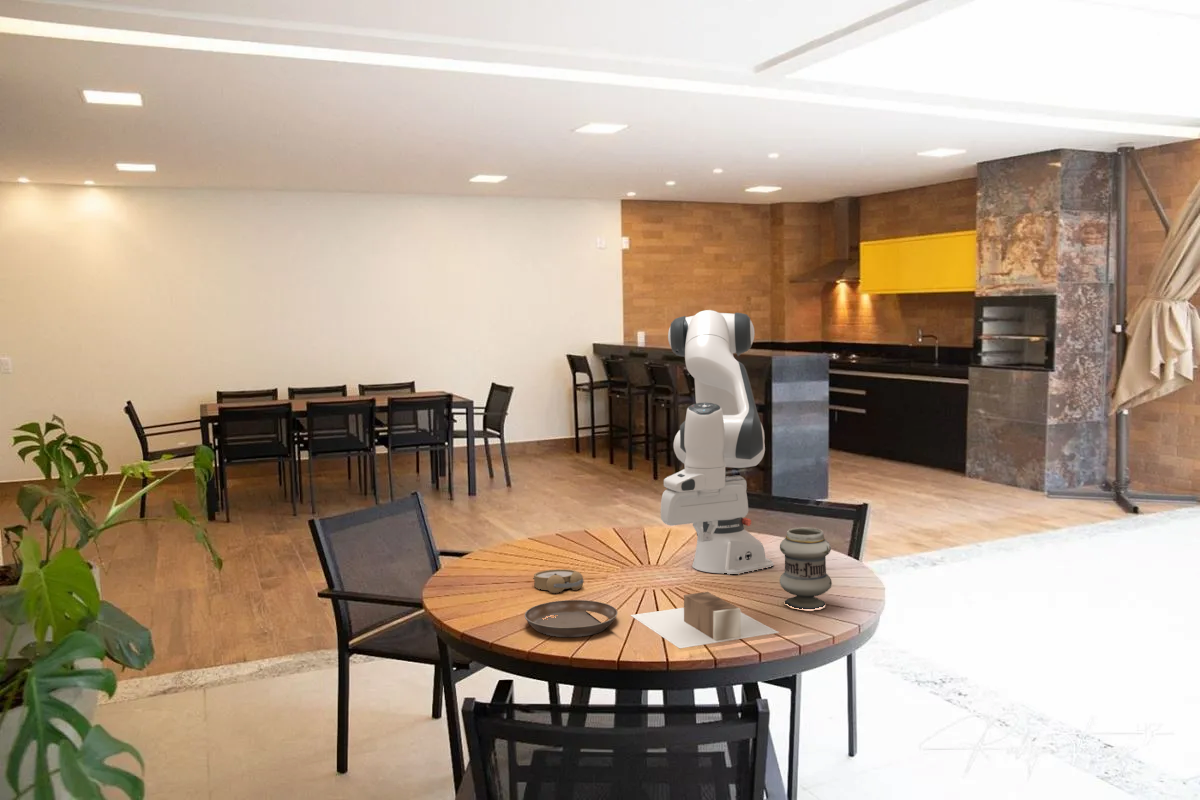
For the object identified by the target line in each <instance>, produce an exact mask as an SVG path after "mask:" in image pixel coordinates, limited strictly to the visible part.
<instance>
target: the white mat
mask: <svg viewBox="0 0 1200 800" xmlns="http://www.w3.org/2000/svg"><path fill="white" fill-rule="evenodd" d="M629 616H630V617H632V618H633V619H635V620H637V621H638V622H640V623H641V624H642V625H644V626H645V627H647V628H648V629H650V630H651V631H652V632H654V633H656V634H657V635H659V636H660V637H662V638H663V639H664V640H666V641H667V642H669V643H670V644H672V645H673V646H675V647H676V648H678V649H680V650H681V649H685V648H691V647H699V646H703V645H709V644H710V645H711V644H716V643H722V642H730V641H735V640H742V639H747V638H754V637H760V636H766V635H773V634H778V633H780V632H779V631H777V630H775V629H773V628H772V627H770V626H768V625H765V624H764V623H762V622H760V621H758V620H756V619H754V618H753V617H751V616H749V615H747V614H746V613H744V612H742V611H741V637H736V638H730V639H724V640H717V641H715V640H714V639H712V638H710V637H709V636H707V635H705V634H704V633H702V632H701V631H699V630H697V629H696V628H694V627H692V626H691V625H689V624H687V623H686V622H684V607H679V608H677V607H676V608H672V609H663V610H658V611H650V612H643V613H637V614H630V615H629Z"/></svg>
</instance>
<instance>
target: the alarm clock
mask: <svg viewBox="0 0 1200 800" xmlns="http://www.w3.org/2000/svg"><path fill="white" fill-rule="evenodd" d="M532 579H533V580H534V588H535V587H536V588H538V589H537V590H540V589H541V590H542V591H549V592H550V593H551V592H552V593H551V594H555V593H556V594H560V593H562V592H563V591H564V590H567V589H568V590H569V589H571V590H573V591H578V590H577V589H579V590H580V589H582V587H583V585H584V577H583V574H582V573H581V572H579V571H576V570H573V569H564V568H563V569H559V568H558V569H547V570H541V571H538V572H536V573H534V574H533V577H532ZM536 588H535V589H536ZM559 592H560V593H559Z"/></svg>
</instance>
